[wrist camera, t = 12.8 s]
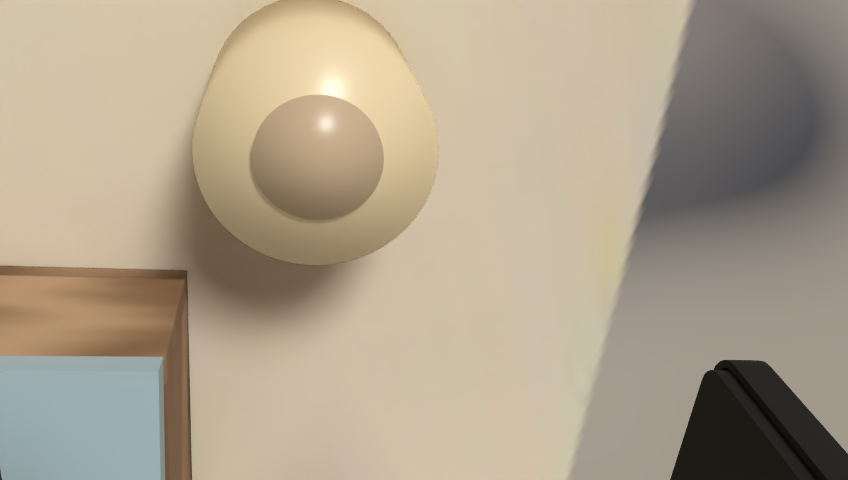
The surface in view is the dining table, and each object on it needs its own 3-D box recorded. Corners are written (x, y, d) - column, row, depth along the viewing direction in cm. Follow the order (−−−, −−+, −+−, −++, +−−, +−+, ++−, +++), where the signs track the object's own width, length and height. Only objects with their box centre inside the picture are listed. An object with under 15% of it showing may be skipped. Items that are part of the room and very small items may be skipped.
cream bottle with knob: (212, 186, 25) (193, 266, 20) (209, -13, 22) (188, 27, 18) (402, 194, 26) (426, 271, 21) (421, 5, 23) (453, 47, 19)
